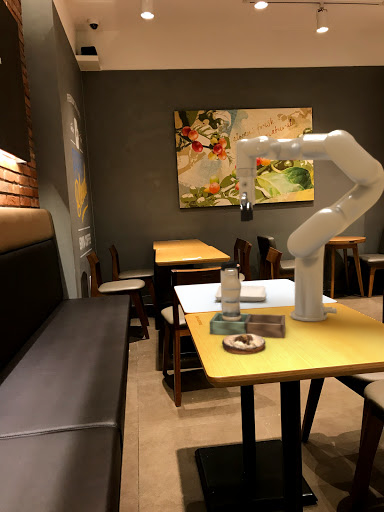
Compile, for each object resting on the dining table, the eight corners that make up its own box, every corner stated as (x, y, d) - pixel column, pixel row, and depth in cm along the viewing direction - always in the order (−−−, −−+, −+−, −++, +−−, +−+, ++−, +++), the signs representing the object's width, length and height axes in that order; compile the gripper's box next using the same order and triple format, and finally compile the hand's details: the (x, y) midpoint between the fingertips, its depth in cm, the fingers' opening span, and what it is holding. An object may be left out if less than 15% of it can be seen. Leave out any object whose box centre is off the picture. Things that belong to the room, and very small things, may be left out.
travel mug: (238, 316, 145) (237, 262, 142) (220, 315, 146) (219, 262, 144) (240, 311, 151) (239, 259, 148) (222, 311, 152) (221, 259, 150)
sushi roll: (217, 339, 122) (216, 326, 122) (266, 338, 121) (266, 325, 121) (217, 358, 108) (217, 343, 107) (273, 357, 107) (273, 342, 106)
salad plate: (266, 304, 162) (266, 295, 162) (214, 303, 166) (214, 295, 165) (265, 292, 183) (265, 285, 183) (219, 292, 187) (219, 285, 186)
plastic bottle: (228, 325, 135) (227, 266, 132) (246, 328, 131) (245, 268, 128) (217, 330, 130) (216, 269, 127) (235, 333, 126) (234, 271, 123)
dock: (285, 326, 131) (285, 315, 130) (283, 337, 120) (283, 325, 120) (216, 323, 137) (216, 312, 136) (209, 333, 126) (209, 321, 126)
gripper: (253, 172, 137) (254, 221, 139) (259, 175, 153) (259, 219, 156) (232, 173, 139) (233, 222, 141) (239, 176, 155) (240, 220, 158)
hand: (247, 220), depth 148 cm, fingers open, 9 cm apart
